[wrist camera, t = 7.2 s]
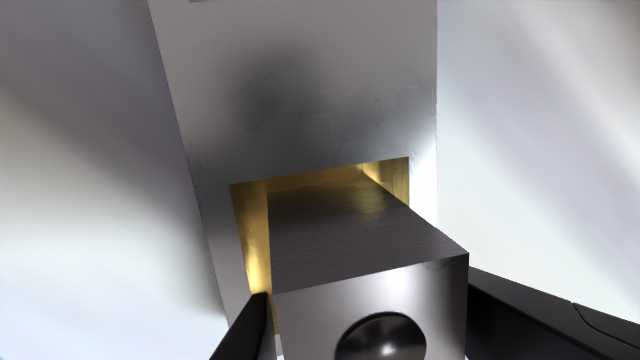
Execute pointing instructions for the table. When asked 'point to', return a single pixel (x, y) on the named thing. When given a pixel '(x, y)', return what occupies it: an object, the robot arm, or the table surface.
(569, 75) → the table surface
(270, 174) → the metal tray
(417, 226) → the metal drawer with knob
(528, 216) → the table surface
